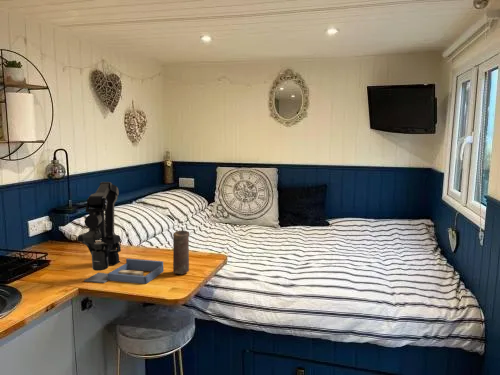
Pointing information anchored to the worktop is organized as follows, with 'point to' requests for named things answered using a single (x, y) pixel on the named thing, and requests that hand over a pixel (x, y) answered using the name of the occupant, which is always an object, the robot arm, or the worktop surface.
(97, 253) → the supplement bottle
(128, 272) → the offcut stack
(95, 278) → the mat
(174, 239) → the candle
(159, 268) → the blue-grey rectangular tray
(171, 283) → the worktop surface
